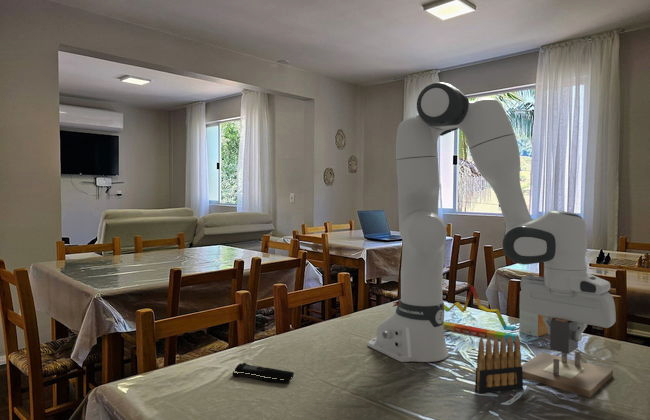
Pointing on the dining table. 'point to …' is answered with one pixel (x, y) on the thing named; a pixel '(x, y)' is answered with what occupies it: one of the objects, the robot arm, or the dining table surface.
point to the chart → (476, 330)
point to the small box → (532, 324)
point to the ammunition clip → (499, 366)
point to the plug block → (562, 335)
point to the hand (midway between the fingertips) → (564, 337)
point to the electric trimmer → (263, 373)
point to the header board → (566, 373)
